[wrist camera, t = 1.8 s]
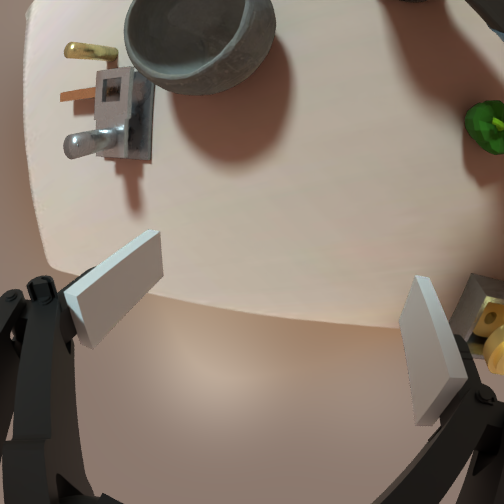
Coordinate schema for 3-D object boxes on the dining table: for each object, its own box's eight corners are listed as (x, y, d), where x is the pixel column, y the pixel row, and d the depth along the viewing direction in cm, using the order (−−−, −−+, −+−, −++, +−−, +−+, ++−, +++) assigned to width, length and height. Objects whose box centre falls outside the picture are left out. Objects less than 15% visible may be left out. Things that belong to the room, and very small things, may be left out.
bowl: (152, 20, 41) (100, 3, 28) (258, -29, 34) (229, -71, 21) (187, 115, 48) (137, 119, 35) (304, 71, 41) (291, 51, 27)
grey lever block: (74, 79, 49) (21, 81, 36) (156, 67, 45) (101, 60, 32) (72, 154, 57) (22, 170, 44) (150, 159, 53) (98, 176, 40)
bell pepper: (505, 124, 34) (536, 129, 25) (483, 158, 38) (511, 169, 29) (473, 89, 33) (501, 85, 25) (449, 123, 37) (475, 127, 29)
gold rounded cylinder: (107, 48, 45) (65, 43, 35) (118, 46, 45) (76, 40, 34) (106, 62, 47) (63, 59, 36) (117, 60, 46) (74, 56, 36)
